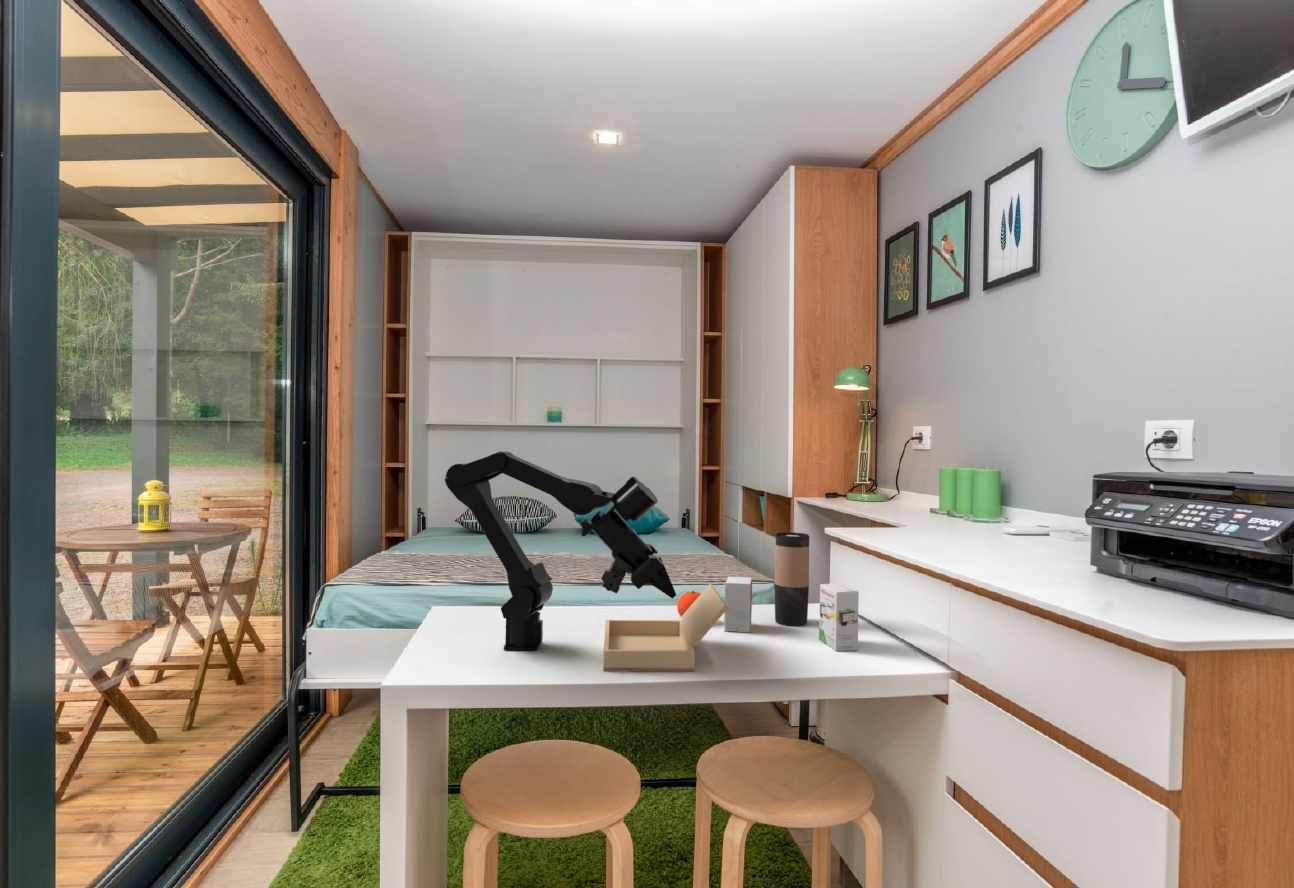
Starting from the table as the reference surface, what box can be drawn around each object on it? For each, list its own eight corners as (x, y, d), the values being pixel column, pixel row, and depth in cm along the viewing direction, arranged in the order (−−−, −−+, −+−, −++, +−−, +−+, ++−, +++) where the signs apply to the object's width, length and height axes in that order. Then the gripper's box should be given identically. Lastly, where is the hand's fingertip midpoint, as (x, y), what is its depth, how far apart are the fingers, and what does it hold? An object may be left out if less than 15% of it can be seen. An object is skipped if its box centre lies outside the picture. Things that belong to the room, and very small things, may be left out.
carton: (603, 670, 122) (603, 650, 122) (605, 636, 144) (605, 619, 144) (694, 671, 123) (694, 651, 123) (682, 637, 145) (682, 620, 145)
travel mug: (812, 621, 160) (814, 534, 160) (801, 628, 154) (803, 537, 154) (781, 616, 164) (782, 531, 164) (768, 623, 158) (770, 534, 158)
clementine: (666, 621, 158) (667, 589, 158) (685, 615, 163) (685, 585, 163) (695, 627, 153) (696, 595, 153) (713, 621, 158) (714, 590, 158)
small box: (750, 633, 149) (750, 583, 149) (723, 631, 150) (724, 582, 150) (751, 624, 157) (752, 577, 157) (726, 622, 158) (727, 575, 158)
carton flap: (691, 643, 124) (725, 604, 124) (681, 616, 144) (710, 583, 144) (695, 646, 124) (728, 607, 124) (684, 618, 144) (713, 585, 144)
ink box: (817, 639, 145) (818, 582, 145) (840, 638, 146) (841, 582, 146) (835, 651, 137) (836, 591, 137) (859, 650, 137) (860, 590, 137)
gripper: (589, 557, 142) (641, 613, 143) (585, 575, 123) (645, 639, 124) (629, 520, 143) (681, 576, 143) (632, 532, 124) (691, 596, 124)
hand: (674, 596), depth 134 cm, fingers closed
